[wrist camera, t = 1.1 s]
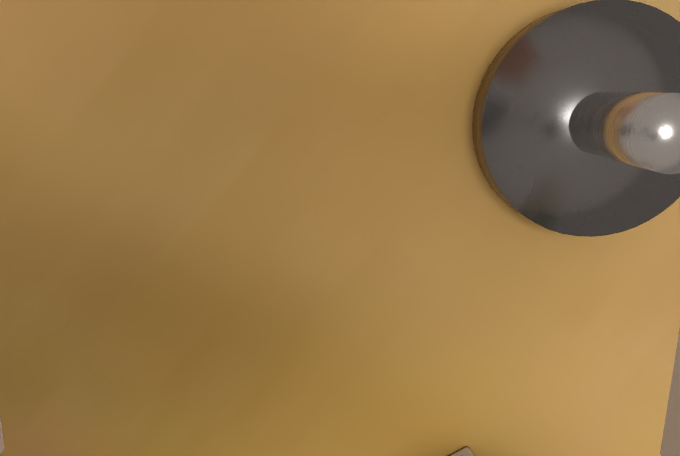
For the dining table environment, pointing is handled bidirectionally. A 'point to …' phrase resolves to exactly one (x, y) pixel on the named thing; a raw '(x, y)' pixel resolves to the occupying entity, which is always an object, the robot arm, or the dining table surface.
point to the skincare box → (463, 452)
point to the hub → (585, 118)
